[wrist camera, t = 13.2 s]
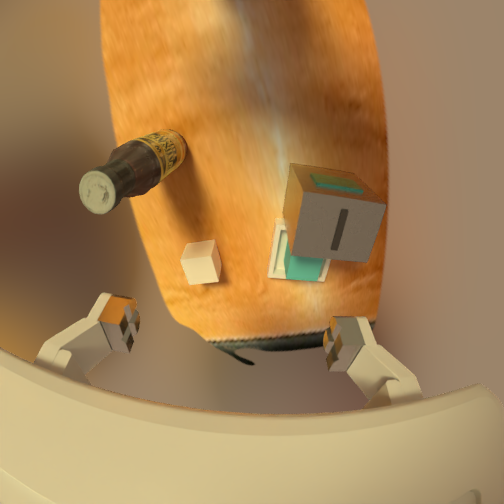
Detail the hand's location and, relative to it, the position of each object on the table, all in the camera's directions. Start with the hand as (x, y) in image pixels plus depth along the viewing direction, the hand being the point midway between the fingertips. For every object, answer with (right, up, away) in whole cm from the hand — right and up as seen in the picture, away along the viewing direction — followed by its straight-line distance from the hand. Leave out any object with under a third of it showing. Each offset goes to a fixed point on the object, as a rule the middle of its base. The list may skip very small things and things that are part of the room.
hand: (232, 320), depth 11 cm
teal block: (+9, +3, +34) cm, 35 cm away
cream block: (-7, +2, +36) cm, 36 cm away
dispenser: (+11, +12, +29) cm, 33 cm away
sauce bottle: (-12, +18, +26) cm, 34 cm away
